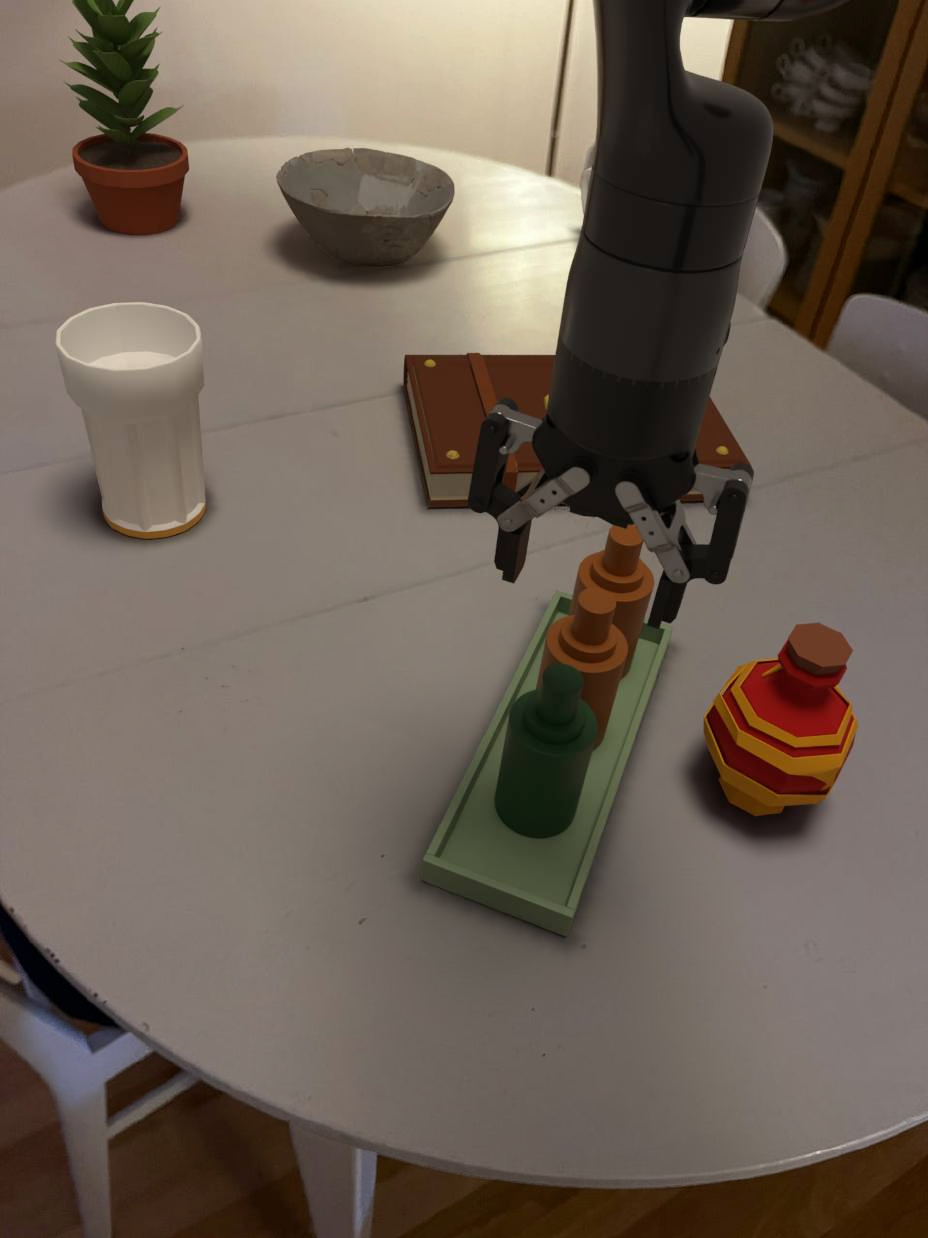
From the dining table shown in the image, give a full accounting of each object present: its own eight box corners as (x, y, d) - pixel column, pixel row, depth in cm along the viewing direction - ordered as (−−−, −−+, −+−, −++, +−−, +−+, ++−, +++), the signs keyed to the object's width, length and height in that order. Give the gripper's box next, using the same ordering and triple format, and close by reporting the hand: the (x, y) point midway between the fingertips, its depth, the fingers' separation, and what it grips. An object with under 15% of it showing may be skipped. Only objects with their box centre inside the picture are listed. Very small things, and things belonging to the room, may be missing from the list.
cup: (104, 558, 88) (67, 380, 76) (79, 484, 95) (43, 310, 83) (233, 532, 92) (218, 358, 80) (200, 462, 99) (182, 293, 87)
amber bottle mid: (619, 744, 77) (656, 618, 68) (551, 765, 75) (580, 638, 66) (582, 690, 80) (613, 564, 72) (516, 708, 78) (539, 582, 70)
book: (740, 502, 102) (754, 461, 98) (428, 510, 97) (431, 467, 93) (673, 383, 118) (683, 344, 114) (402, 384, 113) (404, 343, 109)
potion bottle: (819, 748, 79) (891, 606, 69) (828, 859, 71) (911, 719, 61) (684, 721, 80) (736, 577, 69) (680, 828, 72) (737, 684, 62)
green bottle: (590, 824, 71) (626, 699, 62) (516, 849, 69) (542, 723, 60) (552, 762, 75) (581, 636, 66) (480, 784, 73) (501, 657, 64)
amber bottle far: (644, 674, 82) (681, 550, 73) (581, 692, 80) (612, 566, 71) (608, 627, 86) (640, 503, 77) (548, 642, 84) (573, 517, 75)
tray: (566, 937, 65) (572, 918, 64) (420, 880, 67) (422, 859, 66) (667, 647, 86) (673, 626, 84) (552, 610, 88) (556, 589, 86)
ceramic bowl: (403, 311, 125) (407, 231, 118) (245, 262, 131) (240, 183, 124) (478, 249, 140) (486, 174, 133) (333, 207, 146) (333, 134, 139)
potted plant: (214, 207, 143) (193, -44, 122) (166, 249, 132) (134, -18, 111) (115, 188, 144) (78, -62, 124) (59, 229, 134) (9, -38, 113)
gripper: (468, 330, 46) (443, 598, 57) (783, 412, 43) (692, 679, 54) (521, 268, 51) (489, 525, 62) (805, 337, 48) (719, 594, 59)
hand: (583, 596), depth 58 cm, fingers open, 8 cm apart
